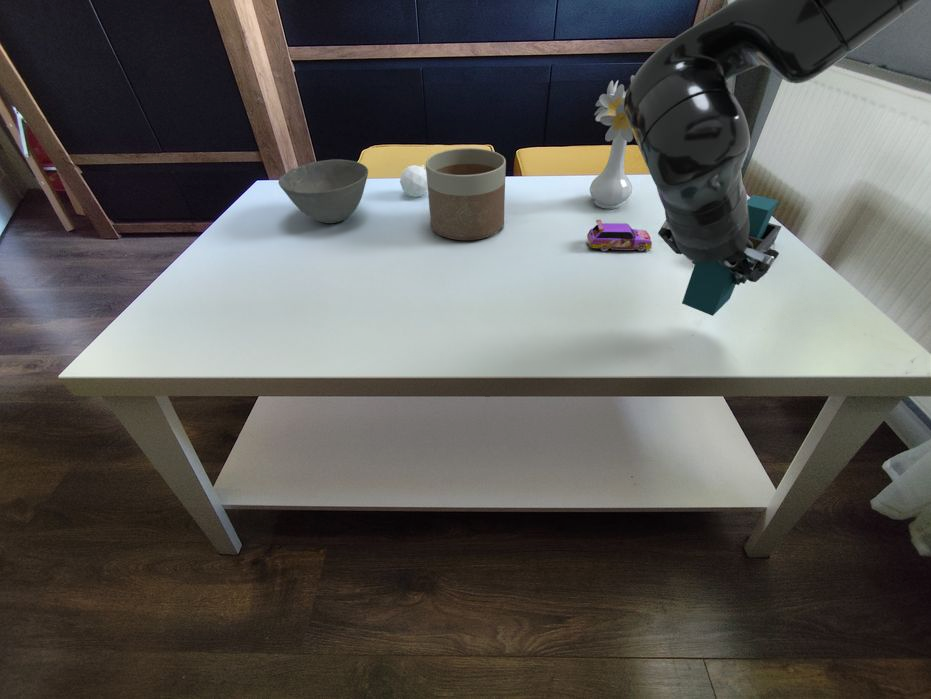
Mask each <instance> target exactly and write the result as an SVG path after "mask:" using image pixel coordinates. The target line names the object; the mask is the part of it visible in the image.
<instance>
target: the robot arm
mask: <svg viewBox="0 0 931 699" xmlns="http://www.w3.org/2000/svg"><path fill="white" fill-rule="evenodd" d="M922 1H923V0H733V1H731V2H730V3H727V4H726V5H725V6H723V7H721V8H720V9H719V10H717V11H716V12H714V13H713V14H710V15H709V16H708V17H705V18H704V19H703V20H701V21H700V22H698V23H695V25H693V26H691V27H690V28H688V29H687V30H685V31H684V32H682V33H681V34H678V35H677V36H676V37H674V38H672V39H671V40H670V41H668V42H666V43H665V44H664V45H663V46H661V47H660V48H659V49H657V50H656V51H655V52H654V53H653V54H651V56H649V57H648V58H647V59H646V60H645V62H643V64H642V65H641V66H640V68H639V69H638V70H637V72H636V73H635V75H634V76H635V77H634V78H633V80H632V82H631V81H630V84H629V86H628V88H627V89H628V90H627V89H626V91H627V92H626V96H625V100H624V111H625V116H626V119H627V121H628V124H629V126H630V129H631V131H632V134H633V138H634V139H635V142H636V144H637V147H638V149H639V150H640V153H641V156H642V158H643V161H644V163H645V166H646V167H647V170H648V172H649V175H650V176H651V178H652V180H653V183H654V184H655V186H656V190H657V194H658V197H659V199H660V202H661V205H662V207H663V209H664V216H665V220H664V222H663V224H662V225H661V227H660V229H659V231H658V232H657V234H658V236H659V237H660V238H661V239H662V240H663V241H664V242H665V243H666V245H667V246H668V247H669V248H670V249H671V250H672V251H673V252H674V253H675V254H677V255H683V256H684V257H685V258H687V260H689V261H691V263H692V265H694V266H695V263H696V261H697V262H715V263H717V264H718V265H719V266H720V267H721V269H722V270H723V271H727V272H730V273H731V274H732V281H733V283H734V284H736V285H737V286H739V285H741V284H746V282H747V281H748V282H751V283H757V282H758V281H759V280H760V279H761V278H762V277H764V276H765V275H766V274H767V273H768V271H769V270H770V269H771V267H772V266H773V264H774V263H775V261H776V259H777V258H778V256H779V255H780V252H779V251H777V250H776V249H772V248H769V249H768V250H767V251H764V250H762V251H761V252H759V251H757V250H755V249H753V244H752V242H751V241H750V240H749V239H748V236H749V228H750V224H749V213H748V203H747V200H748V194H747V190H746V187H745V185H744V183H743V176H742V174H743V173H742V168H743V166H744V164H745V160H746V158H747V155H748V152H749V150H750V146H751V135H750V129H749V124H748V121H747V118H746V115H745V112H744V110H743V108H742V106H741V105H740V103H739V101H738V99H737V97H736V96H735V94H734V92H733V90H732V89H731V87H730V86H729V84H728V81H729V80H731V79H732V78H734V77H736V76H738V75H740V74H742V73H745V72H746V71H750V70H752V69H754V68H757V67H761V66H764V67H766V68H768V69H769V70H770V71H772V73H774V74H776V76H778V77H779V78H780V79H782V80H784V81H786V82H788V83H790V84H802V83H806V82H808V81H810V80H813V79H814V78H816V77H817V76H819V75H821V74H822V73H824V72H825V71H827V70H828V69H830V68H832V67H833V66H835V64H837V63H838V62H840V61H841V60H842V59H844V58H846V57H847V55H848V53H849V54H850V53H852V52H853V51H855V50H856V49H858V48H859V47H860V46H862V45H863V44H864V43H866V42H867V41H868V40H870V39H872V38H873V37H874V36H876V35H877V34H878V33H880V32H881V31H883V30H884V29H885V28H887V27H888V26H889V25H891V24H892V23H894V22H895V21H896V20H898V19H899V18H900V17H901V16H903V15H904V14H907V12H909V11H910V10H911V9H913V8H914V7H915V6H917V5H918V4H919V3H921V2H922ZM736 285H735V286H736Z"/></svg>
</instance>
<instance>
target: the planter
mask: <svg viewBox="0 0 931 699" xmlns="http://www.w3.org/2000/svg"><path fill="white" fill-rule="evenodd" d="M506 170H507V160H506V158H505V157H504V155H502V154H500V153H499V152H497V151H494V150H490V149H484V148H476V147H475V148H473V147H461V148H452V149H447V150H442V151H439V152H437V153H435V154H433V155H431V156H429V157H428V158H427V160H426V161H425V171H426V173H427V185H428V190H427V193H428V194H427V195H428V208H429V220H430V221H429V222H430V227H431V229H432V230H433V232H435V233H436V234H437V235H439V236H441V237H443V238H447V239H450V240H455V241H457V240H458V241H475V240H481V239H485V238H489V237H491V236H493V235H495V234H497V233H499V231H501V229H502V228H503V227H504V224H505V203H506V202H505V201H506V198H505V197H506Z"/></svg>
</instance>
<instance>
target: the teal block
mask: <svg viewBox="0 0 931 699" xmlns="http://www.w3.org/2000/svg"><path fill="white" fill-rule="evenodd" d="M735 287H736V284H734V283H733V281H732V274H731V273H730V272H727V271H723V270H722V269H721V267H720V266H719V265H718V264H717V263H715V262H697V261H696V263H695V265H694V266H693V268H692V272H691V275H690V278H689V280H688V284H687V286H686V290H685V293H684V296H683V299H682V302H681V304H682V305H684V306H687V307H690V308H692V309H695V310H697V311H700V312H702V313H704V314H707V315H709V316H712V317H714V316H715V315H716V314H717V313H718V312H719V310H720V309H721V308H723V307H724V305H725V304H726V303H728V301H730V300H731V297H732V295H733V292H734V290H735Z"/></svg>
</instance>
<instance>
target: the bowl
mask: <svg viewBox="0 0 931 699" xmlns="http://www.w3.org/2000/svg"><path fill="white" fill-rule="evenodd" d="M368 176H369V168H368V167H367V166H366V165H365V164H363V163H360V162H358V161H355V160H350V159H336V158H334V159H333V158H332V159H324V160H318V161H312V162H309V163H305V164H302V165H300V166H297V167H295V168H291V169H290V170H288V171H287V172H285V173H284V174H282V175H281V176H280V177H279V179H278V185H279V187H280V188H281V189H282V191H283V192H284V193H285V194H286V196H287V197H288V198H289V199H290V201H291V202H292V203H293V204H294V206H296V208H297V209H299V211H301V213H303V214H305V215H306V216H307V217H309V218H310V219H313V220H314V221H317V222H320V223H324V224H336V223H340V222H343V221H345V220H347V219H348V218H349V217H351V216H352V215H353V214H354V212H355V211H356V210H357V208H358V206H359V204H361V200H362V198H363V195H364V190H365V187H366V183H367V180H368Z"/></svg>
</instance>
